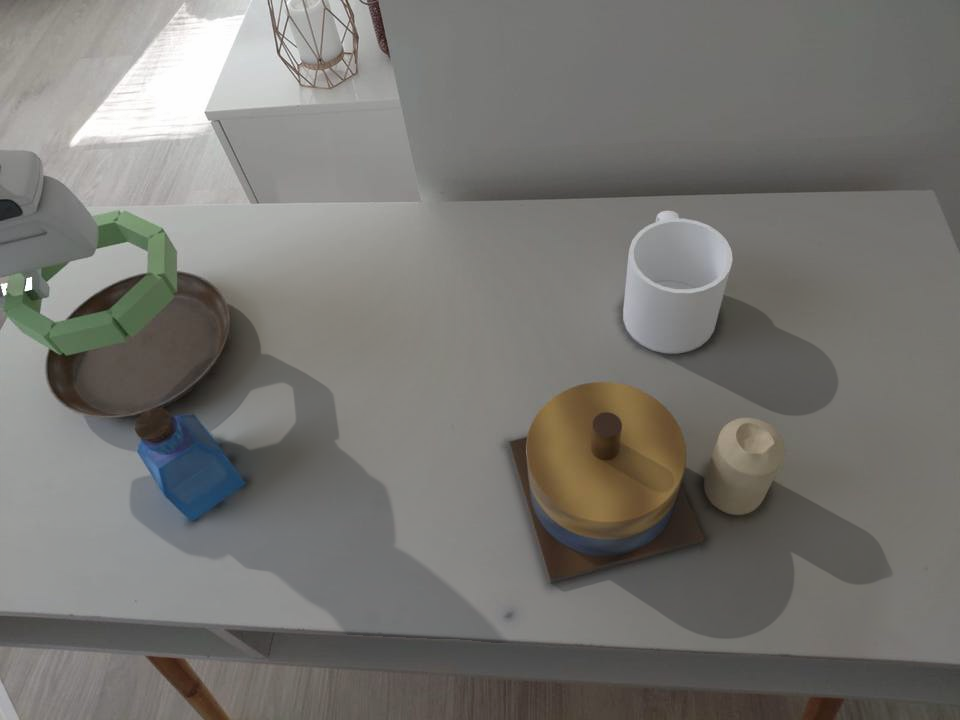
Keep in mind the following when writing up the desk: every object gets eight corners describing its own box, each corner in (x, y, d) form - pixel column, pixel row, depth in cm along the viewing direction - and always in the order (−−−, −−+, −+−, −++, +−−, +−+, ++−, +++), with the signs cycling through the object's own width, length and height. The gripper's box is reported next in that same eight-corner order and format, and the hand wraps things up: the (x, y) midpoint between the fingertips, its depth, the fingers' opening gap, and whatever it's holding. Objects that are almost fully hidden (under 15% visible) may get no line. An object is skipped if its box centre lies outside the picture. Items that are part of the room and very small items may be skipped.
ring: (14, 368, 73) (-5, 350, 71) (32, 252, 82) (16, 232, 80) (177, 329, 74) (164, 310, 72) (177, 219, 83) (165, 199, 81)
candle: (772, 477, 72) (798, 424, 63) (752, 526, 69) (777, 477, 61) (715, 453, 74) (734, 399, 65) (694, 499, 71) (711, 449, 63)
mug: (724, 351, 80) (743, 288, 72) (629, 359, 81) (636, 297, 72) (701, 263, 87) (715, 196, 79) (613, 270, 88) (618, 205, 80)
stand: (550, 583, 68) (547, 527, 57) (509, 447, 76) (500, 375, 65) (702, 542, 69) (727, 479, 58) (646, 411, 77) (658, 335, 66)
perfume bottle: (192, 522, 75) (135, 467, 65) (165, 480, 78) (107, 421, 68) (246, 484, 76) (198, 425, 67) (217, 444, 80) (168, 382, 70)
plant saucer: (129, 271, 95) (117, 253, 93) (270, 306, 90) (261, 288, 87) (23, 405, 85) (5, 389, 82) (175, 454, 79) (161, 439, 77)
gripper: (-200, 250, 63) (-83, 347, 74) (45, 194, 64) (124, 297, 75) (-180, 200, 67) (-71, 299, 78) (52, 147, 68) (126, 252, 79)
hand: (26, 298), depth 77 cm, fingers closed on ring, 2 cm apart
